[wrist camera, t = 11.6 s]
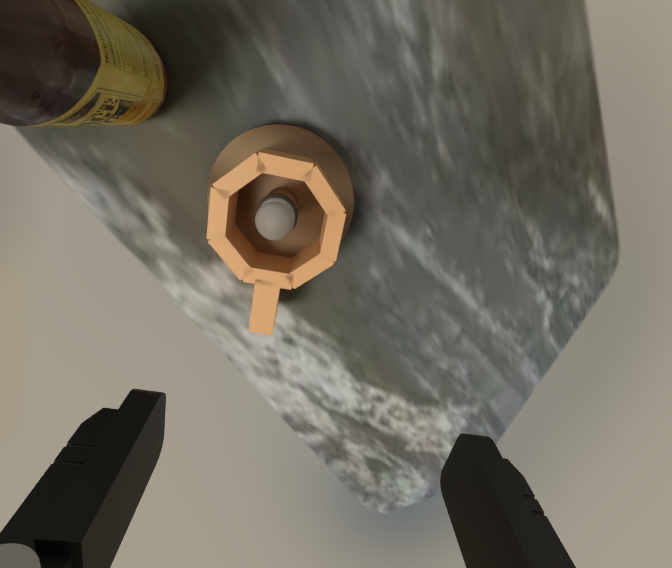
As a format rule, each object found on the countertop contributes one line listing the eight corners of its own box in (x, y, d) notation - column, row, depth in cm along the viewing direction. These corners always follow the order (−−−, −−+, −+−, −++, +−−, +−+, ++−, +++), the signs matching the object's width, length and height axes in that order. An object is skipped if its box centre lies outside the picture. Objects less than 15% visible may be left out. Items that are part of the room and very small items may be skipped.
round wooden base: (218, 109, 27) (181, 103, 19) (366, 142, 28) (385, 148, 21) (207, 252, 31) (173, 293, 23) (336, 274, 32) (343, 320, 25)
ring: (226, 140, 26) (213, 142, 23) (350, 166, 27) (355, 172, 24) (211, 303, 31) (200, 324, 28) (317, 319, 32) (318, 341, 29)
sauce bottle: (89, 123, 27) (-393, 123, 8) (68, 18, 24) (-670, -297, 6) (182, 127, 27) (-82, 137, 9) (172, 25, 25) (-224, -248, 6)
